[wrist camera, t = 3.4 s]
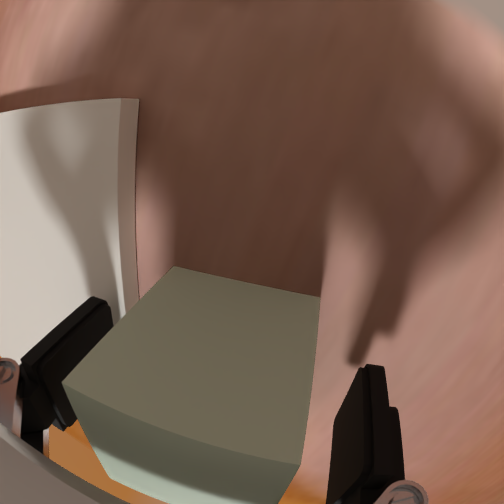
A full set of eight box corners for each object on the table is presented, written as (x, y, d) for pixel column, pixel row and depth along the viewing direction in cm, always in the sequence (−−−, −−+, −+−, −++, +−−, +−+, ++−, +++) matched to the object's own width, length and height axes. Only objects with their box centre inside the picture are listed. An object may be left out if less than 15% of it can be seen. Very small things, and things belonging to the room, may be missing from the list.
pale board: (139, 98, 9) (121, 98, 8) (156, 425, 15) (149, 438, 14) (-51, 126, 11) (-63, 129, 10) (-11, 335, 18) (-19, 341, 17)
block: (320, 296, 10) (300, 465, 5) (291, 397, 12) (261, 528, 7) (174, 265, 11) (61, 382, 5) (176, 367, 13) (110, 478, 7)
